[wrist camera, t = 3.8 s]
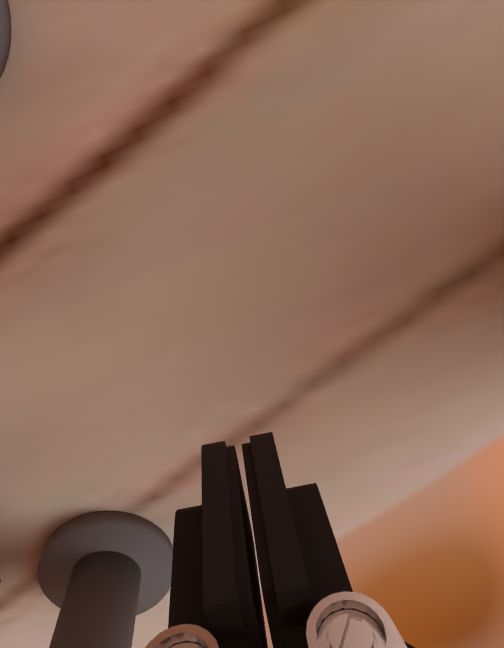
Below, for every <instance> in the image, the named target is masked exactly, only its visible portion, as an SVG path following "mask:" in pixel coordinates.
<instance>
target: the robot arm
mask: <svg viewBox="0 0 504 648" xmlns="http://www.w3.org/2000/svg"><path fill="white" fill-rule="evenodd" d="M242 450H243V457H244V465H245V472H246V479H247V486H248V494H249V501H250V508H251V515H252V523H253V530H254V537H255V544H256V551H257V559H258V566H259V573H260V580H261V587H262V593H263V599H264V604H265V609H266V614H267V619H268V624H269V629H270V634H271V639H272V644H273V648H415V647H413V646H411V645H409V644H407V643H406V642H404V641H403V639H402V637H401V636H400V634H399V632H398V630H397V628H396V627H395V625H394V623H393V622H392V620H391V618H390V616H389V615H388V614H387V613H386V611H385V610H384V609H383V607H382V606H381V605H379V604H378V603H377V602H375V601H374V600H373V599H371V598H370V597H367V596H365V595H362V594H360V593H356V592H353V591H352V588H351V585H350V582H349V579H348V576H347V573H346V570H345V567H344V564H343V561H342V558H341V555H340V553H339V549H338V546H337V543H336V540H335V537H334V534H333V531H332V528H331V525H330V522H329V519H328V516H327V513H326V510H325V507H324V504H323V501H322V499H321V496H320V493H319V490H318V487H317V485H316V483H313V484H308V485H303V486H298V487H293V488H287V489H286V487H285V483H284V479H283V475H282V471H281V466H280V462H279V458H278V454H277V450H276V446H275V442H274V438H273V434H272V432H270V433H264V434H259V435H254V436H250V443H245V444H242ZM201 451H202V505H200V506H194V507H189V508H184V509H179V510H177V511H176V514H175V525H174V542H173V558H172V574H171V591H170V607H169V624H168V629H167V630H165V631H163V632H161V633H159V634H158V635H157V636H156V637H155V638H154V639H153V640H151V641H150V642H149V643H148V645H147V646H146V647H145V648H268V646H267V638H266V631H265V625H264V624H265V623H264V616H263V609H262V601H261V594H260V586H259V579H258V571H257V564H256V556H255V549H254V542H253V536H252V530H251V525H250V520H249V515H248V510H247V505H246V500H245V495H244V490H243V485H242V480H241V475H240V470H239V464H238V459H237V454H236V449H235V446H229V447H226V444H225V441H222V442H216V443H211V444H206V445H202V449H201Z"/></svg>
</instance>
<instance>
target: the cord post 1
mask: <svg viewBox="0 0 504 648" xmlns="http://www.w3.org/2000/svg"><path fill="white" fill-rule="evenodd" d="M10 44H11V17H10V9H9V4H8V0H0V77H1V75H2V73H3V71H4V69H5V66H6V63H7V59H8V55H9V50H10Z"/></svg>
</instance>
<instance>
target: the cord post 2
mask: <svg viewBox="0 0 504 648" xmlns="http://www.w3.org/2000/svg"><path fill="white" fill-rule="evenodd" d="M172 558H173V547H172V544H171V542H170V540H169V538H168V537H167V536H166V534H165V533H164V532H163V531H162V530H161V529H160V528H159V527H157V526H156V525H155V524H153V523H152V522H150V521H148V520H147V519H144V518H142V517H140V516H137V515H134V514H130V513H125V512H118V511H100V512H93V513H88V514H84V515H81V516H78V517H76V518H73V519H71V520H69V521H68V522H66V523H64V524H63V525H62V526H60V527H59V528H58V529H57V530H56V531H55V532H54V533H53V534H52V536H51V537H50V538H49V540H48V542H47V544H46V547H45V549H44V552H43V555H42V557H41V560H40V563H39V566H38V580H39V584H40V586H41V588H42V590H43V592H44V594H45V595H46V596H47V598H48V599H49V600H50V601H51V602H52V603H54V604H55V605H56V606H57V607H59V608H61V610H60V613H59V617H58V620H57V623H56V627H55V630H54V633H53V637H52V640H51V643H50V647H49V648H131V646H132V639H133V631H134V624H135V617H136V615H138V614H141V613H143V612H145V611H147V610H149V609H150V608H152V607H153V606H155V605H156V604H157V603H158V602H160V601H161V600H162V599H163V597H164V596H165V595H166V594H167V592H168V590H169V588H170V586H171V574H172Z"/></svg>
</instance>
